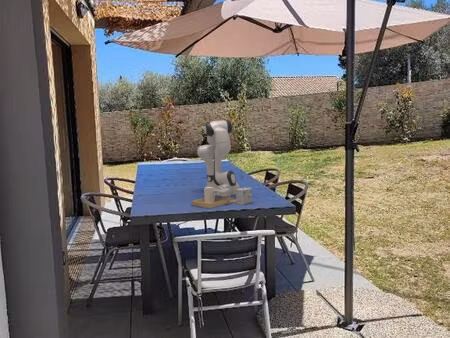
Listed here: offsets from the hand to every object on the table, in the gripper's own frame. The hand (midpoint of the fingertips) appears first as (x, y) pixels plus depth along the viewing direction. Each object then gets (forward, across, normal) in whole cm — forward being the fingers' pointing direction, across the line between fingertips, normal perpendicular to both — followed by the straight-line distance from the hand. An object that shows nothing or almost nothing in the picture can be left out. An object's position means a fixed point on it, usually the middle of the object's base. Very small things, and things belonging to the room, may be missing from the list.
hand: (209, 193), depth 321 cm
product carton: (0, 0, +8) cm, 8 cm away
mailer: (-10, 0, +8) cm, 12 cm away
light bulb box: (-18, +17, +8) cm, 26 cm away
